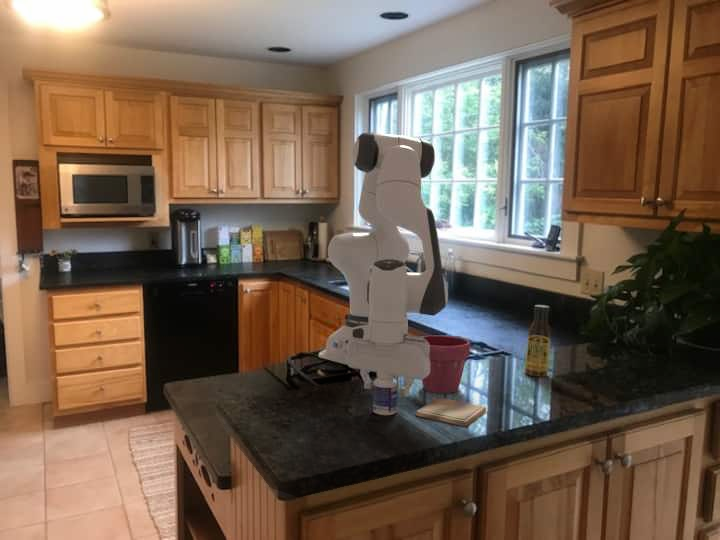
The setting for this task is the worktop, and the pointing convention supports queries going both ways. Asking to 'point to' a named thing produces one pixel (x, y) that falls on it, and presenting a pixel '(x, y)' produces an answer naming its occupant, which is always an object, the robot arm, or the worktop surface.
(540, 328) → the sauce bottle
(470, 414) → the wooden coaster
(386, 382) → the pill bottle
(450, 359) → the plant pot
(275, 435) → the worktop surface
